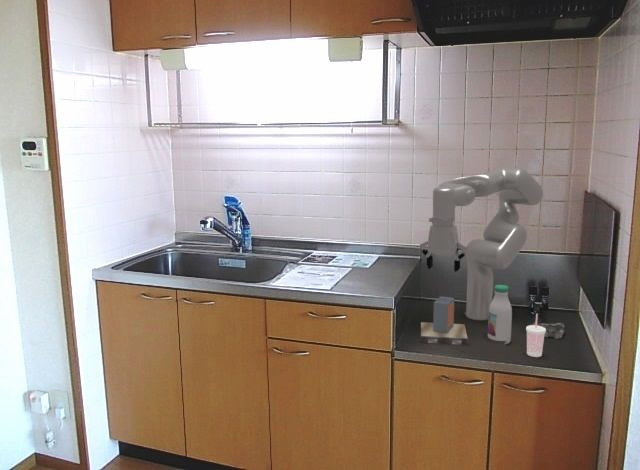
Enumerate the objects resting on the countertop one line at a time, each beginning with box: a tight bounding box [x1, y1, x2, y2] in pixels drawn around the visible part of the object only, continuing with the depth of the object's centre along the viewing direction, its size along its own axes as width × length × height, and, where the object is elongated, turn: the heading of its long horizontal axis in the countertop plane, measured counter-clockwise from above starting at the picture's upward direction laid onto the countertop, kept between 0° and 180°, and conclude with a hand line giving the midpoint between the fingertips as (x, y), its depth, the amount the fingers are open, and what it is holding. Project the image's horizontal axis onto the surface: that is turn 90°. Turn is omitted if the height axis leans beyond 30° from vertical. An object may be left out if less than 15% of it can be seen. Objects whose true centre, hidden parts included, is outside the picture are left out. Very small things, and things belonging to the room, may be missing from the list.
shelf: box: [420, 321, 470, 346], centre depth 200 cm, size 16×20×4 cm
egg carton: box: [531, 321, 565, 340], centre depth 202 cm, size 11×8×4 cm
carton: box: [432, 296, 455, 334], centre depth 203 cm, size 8×5×11 cm, turn 150°
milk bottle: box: [487, 284, 513, 345], centre depth 194 cm, size 8×8×20 cm
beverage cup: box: [525, 313, 546, 358], centre depth 183 cm, size 6×6×14 cm
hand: (443, 269), depth 199 cm, fingers open, 9 cm apart
